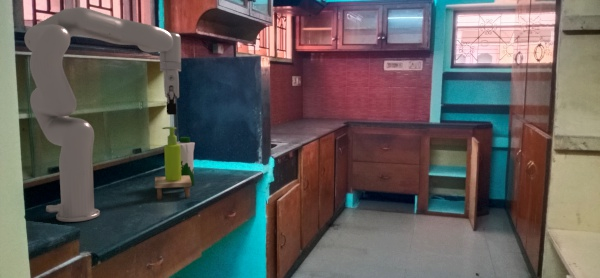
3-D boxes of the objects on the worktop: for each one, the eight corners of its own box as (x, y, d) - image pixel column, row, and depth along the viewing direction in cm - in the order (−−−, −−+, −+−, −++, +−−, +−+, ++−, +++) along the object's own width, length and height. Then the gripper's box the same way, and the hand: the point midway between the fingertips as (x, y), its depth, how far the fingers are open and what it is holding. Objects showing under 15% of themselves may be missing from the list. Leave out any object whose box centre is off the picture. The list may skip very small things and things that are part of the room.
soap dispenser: (170, 177, 185) (168, 126, 183) (184, 178, 182) (183, 126, 180) (159, 179, 180) (158, 127, 178) (174, 181, 177) (172, 128, 175)
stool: (155, 200, 174) (155, 184, 173) (155, 191, 186) (155, 176, 185) (191, 198, 177) (191, 182, 177) (189, 190, 190) (189, 175, 189)
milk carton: (197, 184, 199) (196, 137, 197) (182, 189, 191) (182, 139, 189) (181, 182, 203) (180, 136, 201) (166, 186, 195) (165, 138, 193)
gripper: (182, 67, 168) (182, 115, 171) (180, 67, 185) (180, 111, 187) (160, 66, 166) (161, 115, 168) (159, 67, 183) (160, 111, 185)
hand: (171, 113), depth 178 cm, fingers open, 9 cm apart
